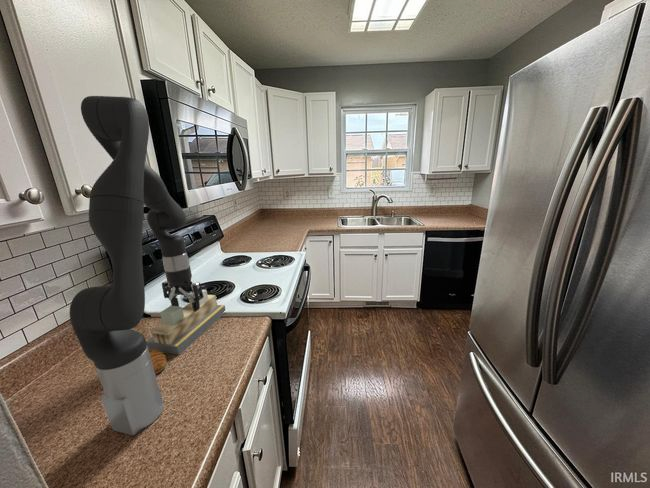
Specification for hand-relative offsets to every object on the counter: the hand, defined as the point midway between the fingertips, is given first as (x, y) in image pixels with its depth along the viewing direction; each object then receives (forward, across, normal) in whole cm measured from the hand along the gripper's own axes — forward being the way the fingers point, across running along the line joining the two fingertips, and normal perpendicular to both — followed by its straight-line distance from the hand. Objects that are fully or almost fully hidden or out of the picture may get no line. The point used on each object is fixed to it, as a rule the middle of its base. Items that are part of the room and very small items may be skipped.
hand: (186, 309), depth 92 cm
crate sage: (+1, 0, -6) cm, 6 cm away
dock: (+8, 0, 0) cm, 8 cm away
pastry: (+9, +2, -17) cm, 20 cm away
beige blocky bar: (+5, 0, 0) cm, 5 cm away
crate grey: (0, 0, +6) cm, 7 cm away
